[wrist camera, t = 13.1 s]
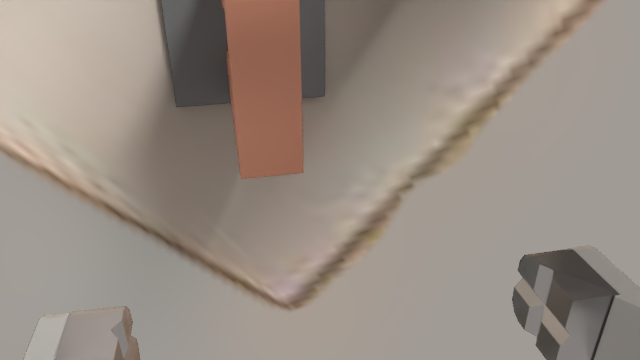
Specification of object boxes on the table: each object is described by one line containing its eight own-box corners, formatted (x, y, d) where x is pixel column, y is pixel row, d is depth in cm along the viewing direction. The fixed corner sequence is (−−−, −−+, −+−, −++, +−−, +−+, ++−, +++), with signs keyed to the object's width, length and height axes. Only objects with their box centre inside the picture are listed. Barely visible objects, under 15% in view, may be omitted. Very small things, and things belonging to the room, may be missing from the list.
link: (267, -53, 32) (298, -26, 21) (274, 92, 36) (303, 172, 26) (216, -52, 31) (223, -24, 21) (230, 95, 36) (240, 178, 25)
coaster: (322, -63, 33) (324, -62, 32) (322, 93, 37) (324, 96, 37) (153, -59, 31) (152, -58, 30) (176, 104, 36) (176, 106, 35)
